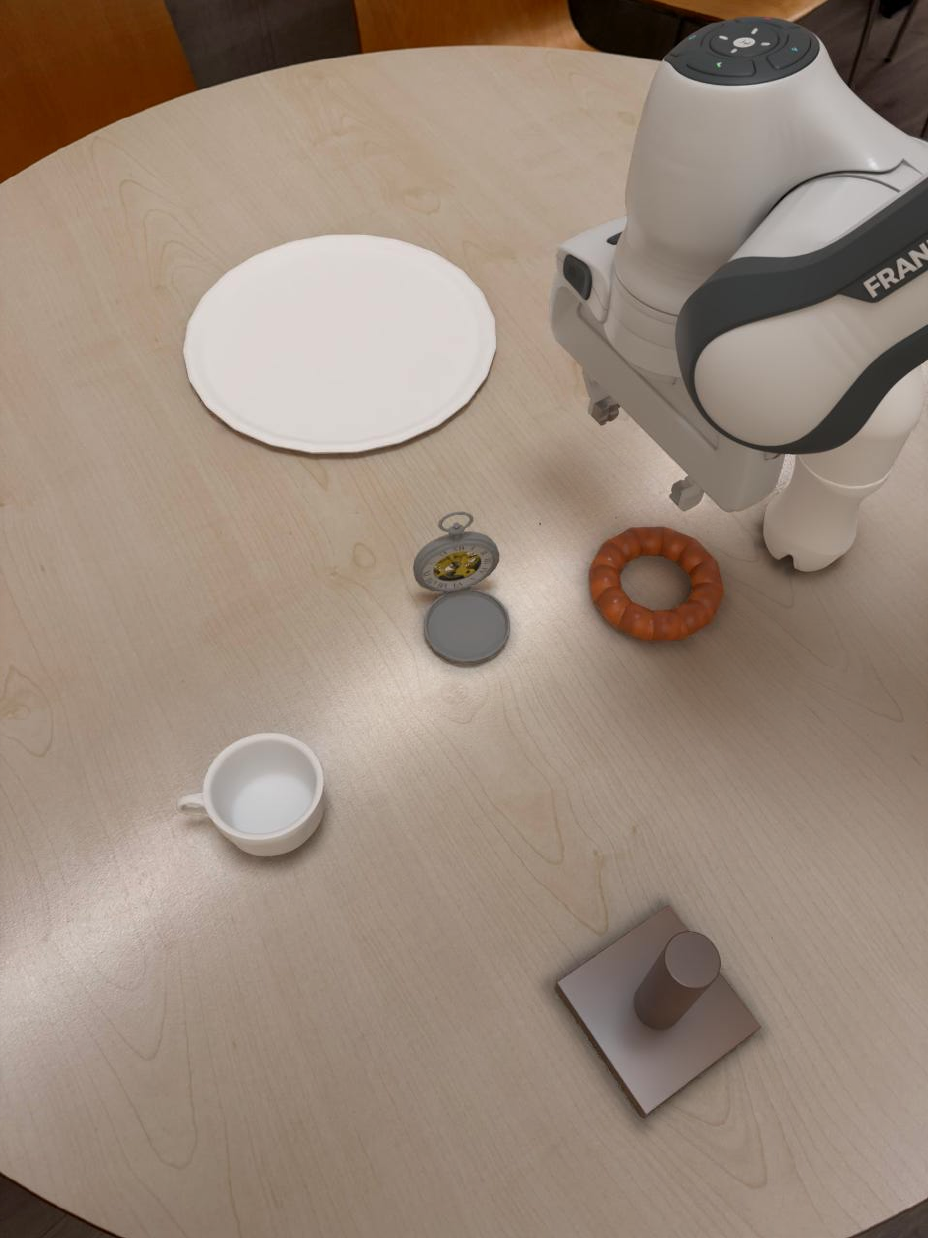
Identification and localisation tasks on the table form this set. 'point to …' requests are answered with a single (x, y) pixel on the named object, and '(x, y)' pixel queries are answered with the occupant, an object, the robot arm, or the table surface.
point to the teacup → (262, 794)
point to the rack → (657, 1008)
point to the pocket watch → (461, 595)
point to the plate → (339, 343)
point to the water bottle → (841, 482)
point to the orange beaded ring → (643, 619)
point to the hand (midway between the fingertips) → (642, 458)
